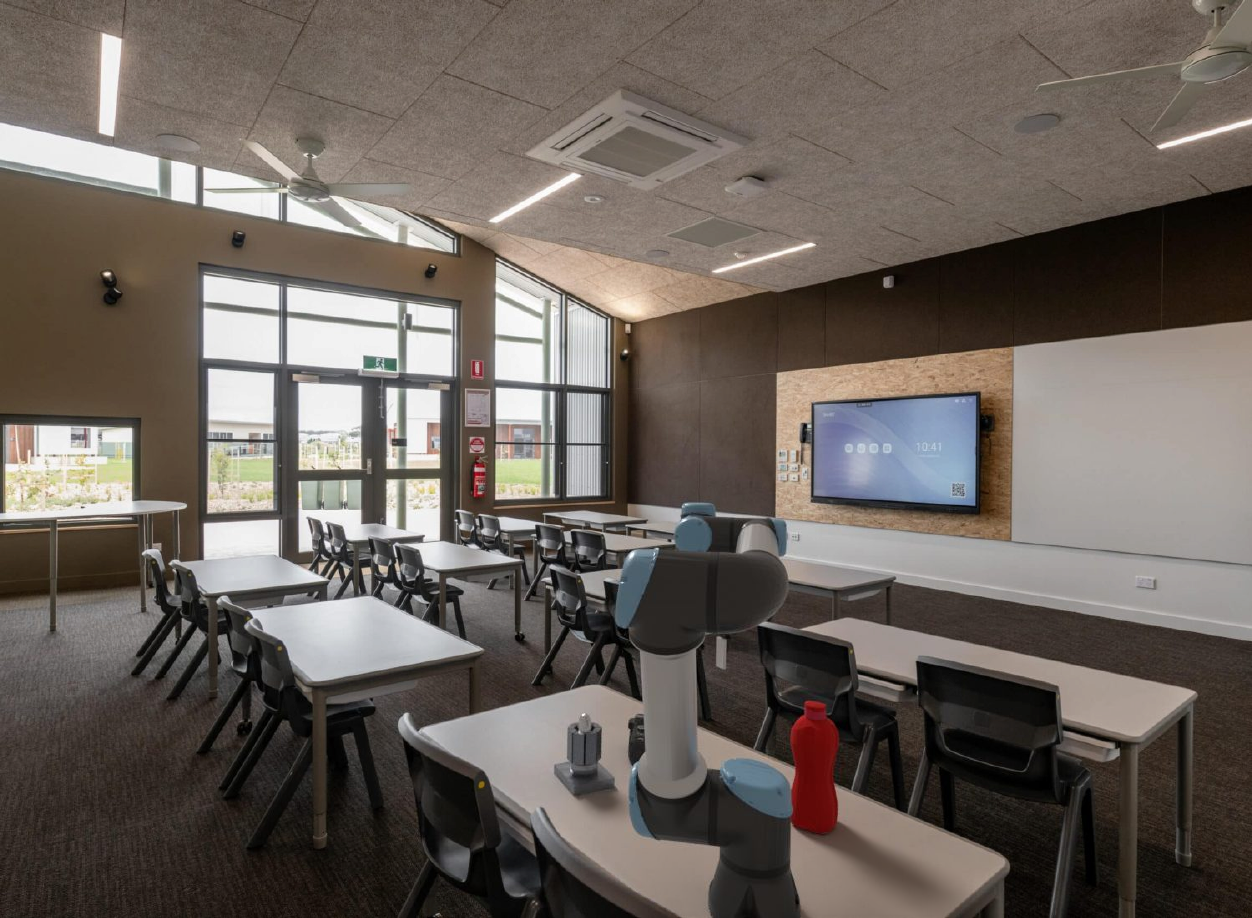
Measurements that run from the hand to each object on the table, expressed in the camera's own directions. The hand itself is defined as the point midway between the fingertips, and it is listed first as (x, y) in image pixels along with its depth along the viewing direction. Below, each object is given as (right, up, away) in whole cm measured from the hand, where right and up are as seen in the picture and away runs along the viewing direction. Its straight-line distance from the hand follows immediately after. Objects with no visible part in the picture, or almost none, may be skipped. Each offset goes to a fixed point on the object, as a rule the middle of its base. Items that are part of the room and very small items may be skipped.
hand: (695, 671), depth 149 cm
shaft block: (-25, -28, +10) cm, 39 cm away
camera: (-11, -29, +24) cm, 39 cm away
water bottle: (+24, -29, -6) cm, 39 cm away
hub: (-25, -23, +10) cm, 35 cm away
